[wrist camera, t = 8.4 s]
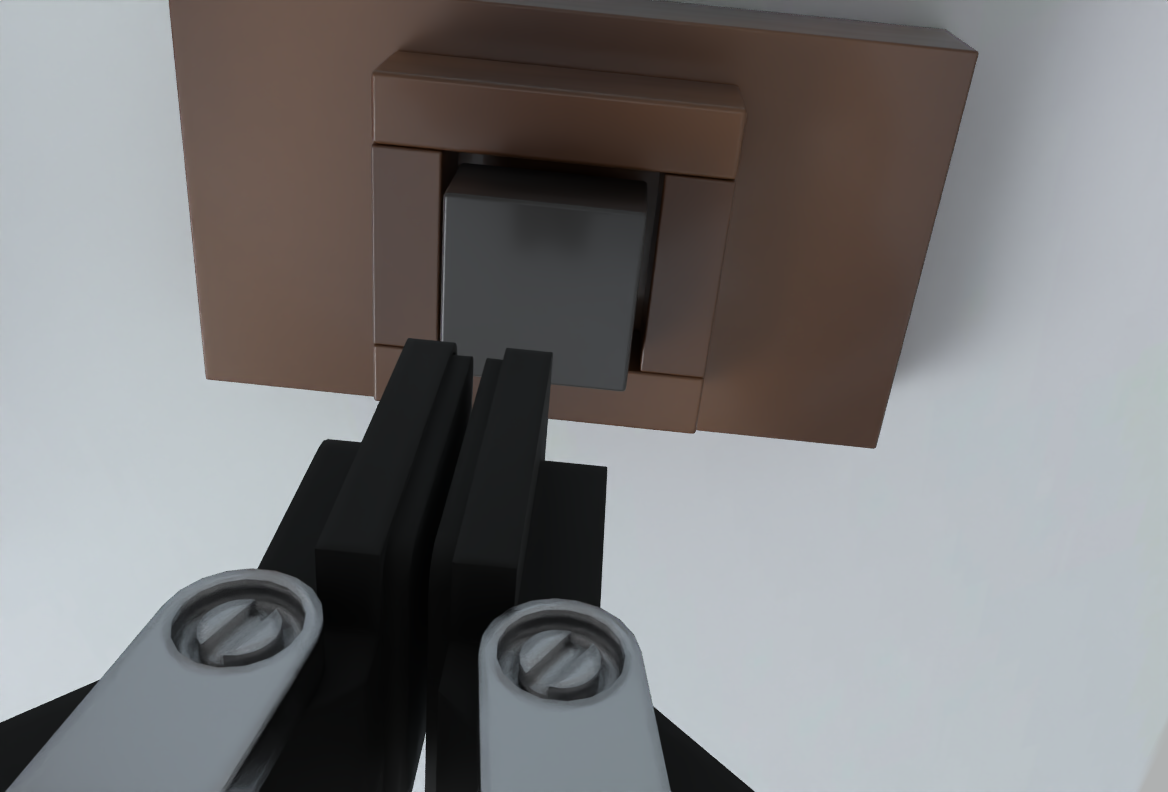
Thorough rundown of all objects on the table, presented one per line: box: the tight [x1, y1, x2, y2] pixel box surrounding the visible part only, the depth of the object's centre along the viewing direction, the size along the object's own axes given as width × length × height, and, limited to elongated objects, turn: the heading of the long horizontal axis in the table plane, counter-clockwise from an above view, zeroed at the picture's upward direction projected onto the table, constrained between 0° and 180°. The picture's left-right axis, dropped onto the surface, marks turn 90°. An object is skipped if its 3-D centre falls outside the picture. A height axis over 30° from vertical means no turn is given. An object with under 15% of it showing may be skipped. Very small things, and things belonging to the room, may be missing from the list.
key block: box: [169, 0, 978, 449], centre depth 20 cm, size 14×8×4 cm, turn 85°
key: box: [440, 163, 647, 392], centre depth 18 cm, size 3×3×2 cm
